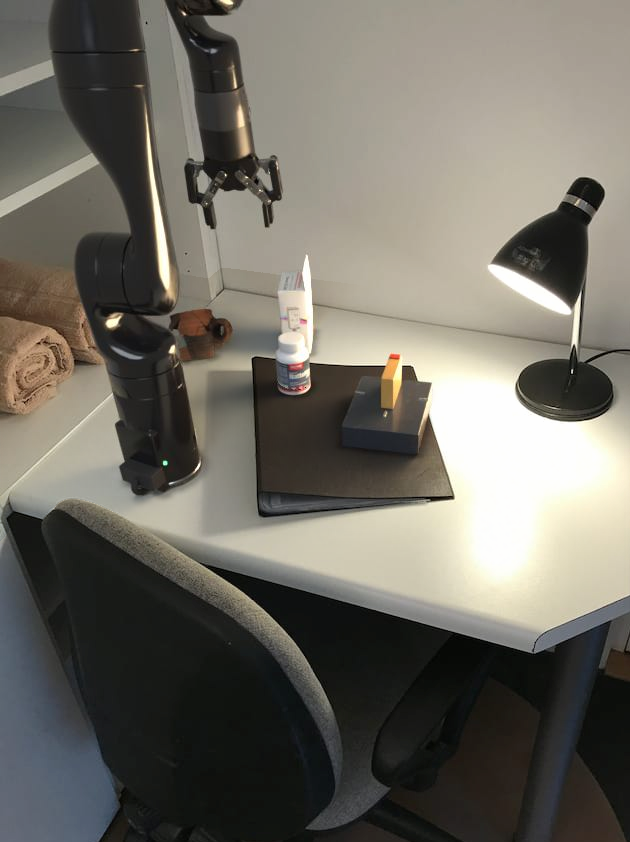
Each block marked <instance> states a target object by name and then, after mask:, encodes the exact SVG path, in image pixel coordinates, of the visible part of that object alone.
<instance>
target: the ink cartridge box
mask: <svg viewBox="0 0 630 842" xmlns="http://www.w3.org/2000/svg"><path fill="white" fill-rule="evenodd" d="M309 263H310V262H309V258H308V254H305V257H304V263H303V265H302V266H303V267H302V270H282V271H281V274H280V278H279V282H278V286H277V290H276V294H277V300H278V301H277V302H278V311H279V318H280V319H279V320H280V328H281V334H283V333H287V332H297V333H300V334H302V335H303V337H304V347H305V348H306V349H307V350H308V353H309V355H310V354H311V353H312V345H313V339H314V338H313V336H314V318H313V317H314V316H313V300H312V298H313V297H312V284H311V270H310V264H309Z"/></svg>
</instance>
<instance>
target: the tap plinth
mask: <svg viewBox="0 0 630 842" xmlns="http://www.w3.org/2000/svg"><path fill="white" fill-rule="evenodd" d="M381 378H382V377H380V376H370V375H369V376H368V375H362V376H361V378H360V381H359V383H358V386H357V387H356V390H355V391H354V396H353V398H352V401H351V402H350V405H349V407H348V410H347V413H346V415H345V417H344V420H343V422H342V425H341V441H342V447H350V448H358V449H366V450H374V451H382V452H393V453H400V454H410V455H419V451H420V448H421V444H422V439H423V437H424V432H425V429H426V426H427V425H426V424H427V421H428V417H429V413H430V409H431V406H432V402H433V401H432V400H433V382H430V381H419V380H409V379H401V386H400V389H399V393H398V396H397V399H396V402H395V405H394V408H393V409H387V408H381Z"/></svg>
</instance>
